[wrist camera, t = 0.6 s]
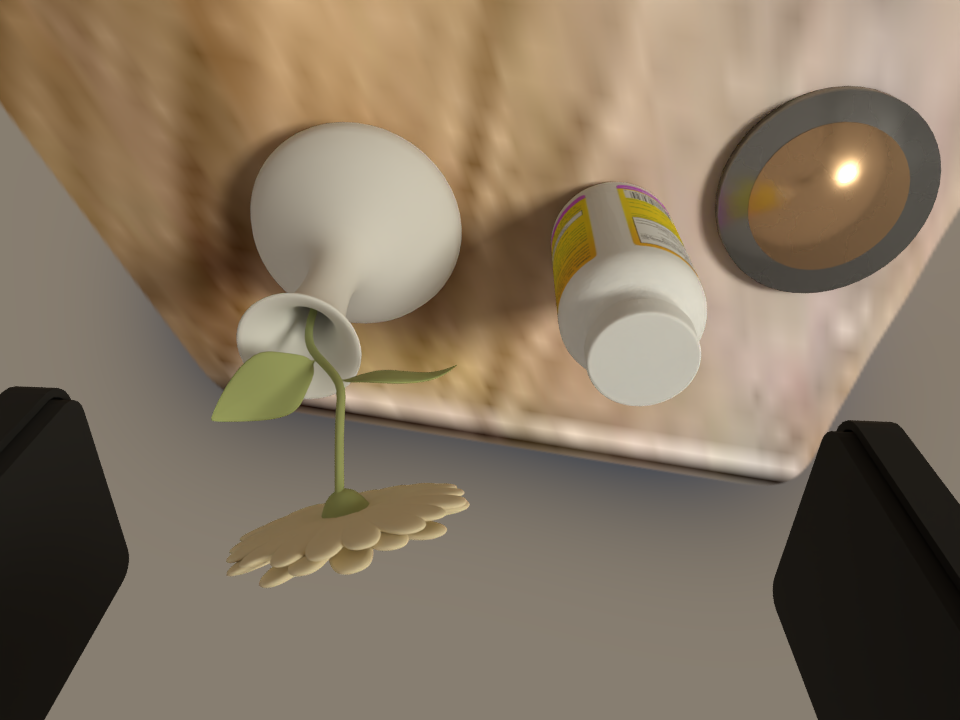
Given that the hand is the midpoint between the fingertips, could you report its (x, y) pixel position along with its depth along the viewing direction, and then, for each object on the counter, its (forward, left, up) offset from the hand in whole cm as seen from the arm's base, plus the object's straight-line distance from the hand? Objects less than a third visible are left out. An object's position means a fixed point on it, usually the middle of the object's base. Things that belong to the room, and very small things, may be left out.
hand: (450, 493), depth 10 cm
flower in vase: (+10, -5, -32) cm, 34 cm away
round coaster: (+3, +18, -31) cm, 36 cm away
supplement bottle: (+8, +8, -32) cm, 34 cm away
